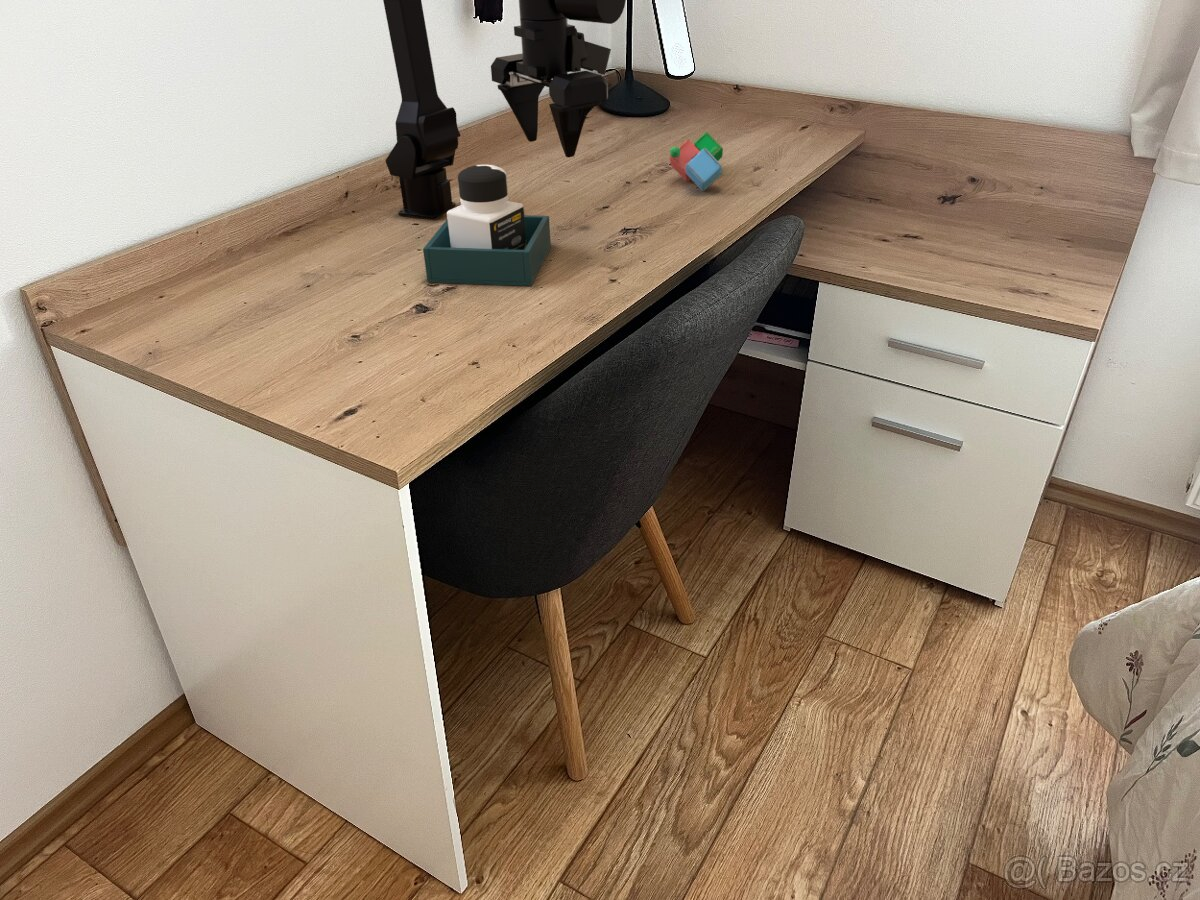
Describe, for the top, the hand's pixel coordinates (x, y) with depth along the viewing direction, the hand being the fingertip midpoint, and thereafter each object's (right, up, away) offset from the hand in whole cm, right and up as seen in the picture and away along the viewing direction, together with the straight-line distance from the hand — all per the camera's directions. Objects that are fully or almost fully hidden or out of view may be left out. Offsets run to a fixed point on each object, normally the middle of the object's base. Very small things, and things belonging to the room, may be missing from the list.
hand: (550, 148), depth 121 cm
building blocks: (+23, +4, +28) cm, 37 cm away
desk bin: (-8, -15, +2) cm, 17 cm away
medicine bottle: (-8, -14, +2) cm, 16 cm away
